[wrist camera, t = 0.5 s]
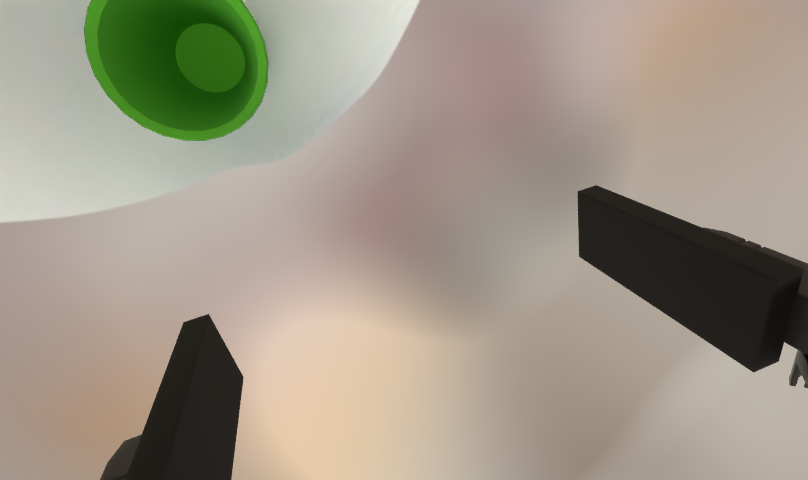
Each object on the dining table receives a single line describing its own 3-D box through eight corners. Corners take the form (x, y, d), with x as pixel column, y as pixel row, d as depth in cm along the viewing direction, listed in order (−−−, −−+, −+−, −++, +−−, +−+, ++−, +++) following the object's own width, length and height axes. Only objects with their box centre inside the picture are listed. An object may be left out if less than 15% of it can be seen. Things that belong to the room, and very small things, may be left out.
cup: (217, -34, 30) (185, -81, 20) (295, 78, 34) (300, 85, 24) (117, 36, 30) (37, 24, 20) (207, 140, 34) (177, 171, 24)
